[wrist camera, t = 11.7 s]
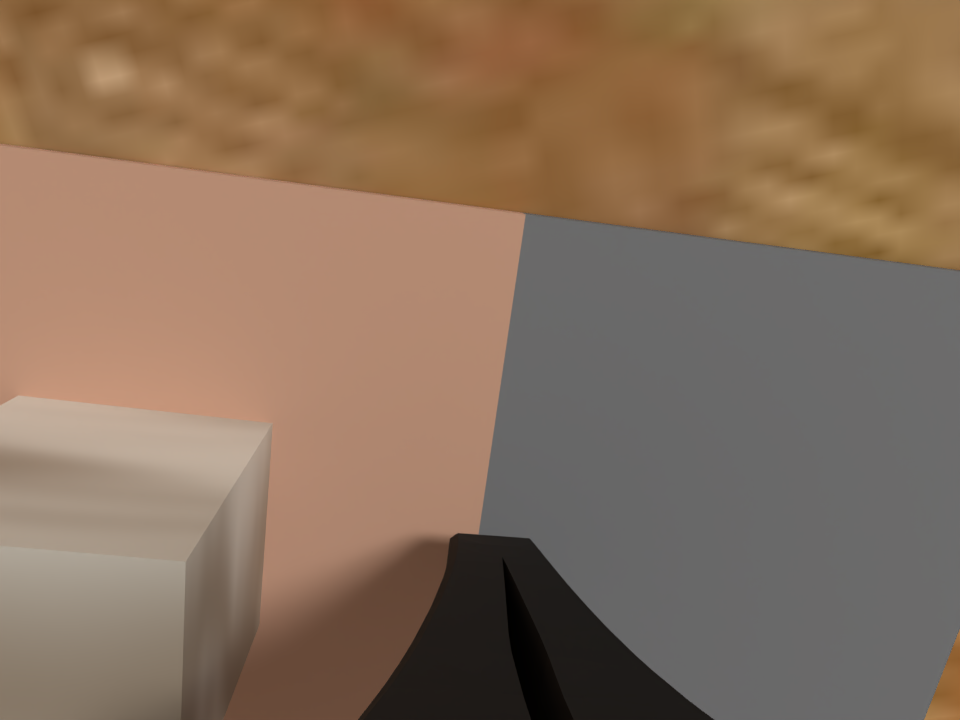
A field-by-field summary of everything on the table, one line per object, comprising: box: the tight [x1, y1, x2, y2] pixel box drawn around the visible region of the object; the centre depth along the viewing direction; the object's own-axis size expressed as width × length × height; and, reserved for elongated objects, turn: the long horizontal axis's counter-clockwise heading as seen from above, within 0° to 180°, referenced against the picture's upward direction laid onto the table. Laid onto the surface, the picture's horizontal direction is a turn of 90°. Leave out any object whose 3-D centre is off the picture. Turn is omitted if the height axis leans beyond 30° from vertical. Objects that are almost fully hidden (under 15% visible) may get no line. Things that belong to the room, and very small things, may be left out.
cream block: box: [0, 395, 273, 720], centre depth 9 cm, size 4×4×4 cm
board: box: [0, 144, 960, 720], centre depth 12 cm, size 12×22×1 cm, turn 83°
